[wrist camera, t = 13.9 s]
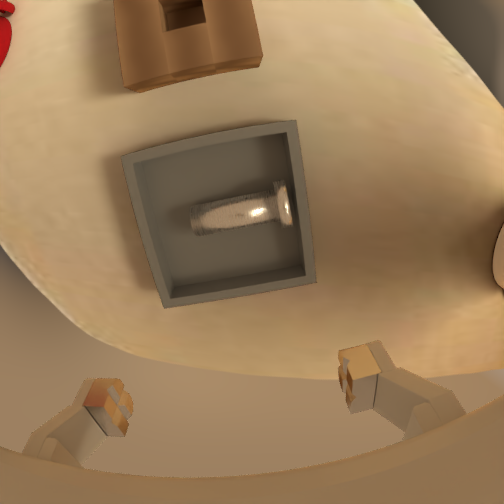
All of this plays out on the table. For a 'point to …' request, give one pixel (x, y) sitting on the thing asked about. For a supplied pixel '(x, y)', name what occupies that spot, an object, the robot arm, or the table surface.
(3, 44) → the alarm clock
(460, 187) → the table surface
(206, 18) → the block
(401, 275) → the table surface
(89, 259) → the table surface
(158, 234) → the tray
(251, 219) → the pin
